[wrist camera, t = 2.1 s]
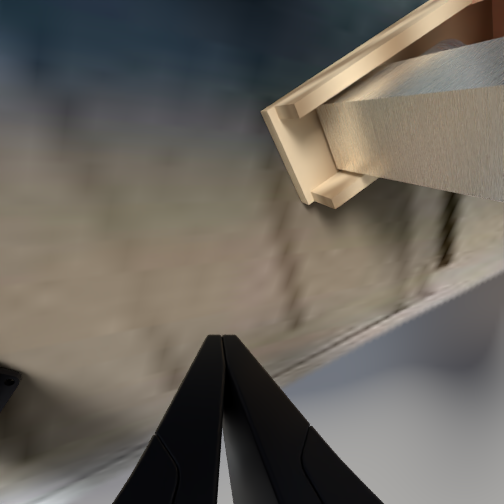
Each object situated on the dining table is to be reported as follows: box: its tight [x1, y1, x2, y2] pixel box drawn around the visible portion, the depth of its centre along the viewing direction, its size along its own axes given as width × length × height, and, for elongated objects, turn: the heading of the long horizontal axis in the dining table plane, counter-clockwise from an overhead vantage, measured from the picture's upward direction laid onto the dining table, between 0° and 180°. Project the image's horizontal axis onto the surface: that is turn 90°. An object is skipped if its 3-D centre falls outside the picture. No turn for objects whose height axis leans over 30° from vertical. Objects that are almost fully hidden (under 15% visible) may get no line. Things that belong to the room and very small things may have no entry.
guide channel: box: [261, 0, 493, 209], centre depth 19 cm, size 19×7×3 cm, turn 120°
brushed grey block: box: [316, 37, 504, 202], centre depth 15 cm, size 9×4×10 cm, turn 120°
